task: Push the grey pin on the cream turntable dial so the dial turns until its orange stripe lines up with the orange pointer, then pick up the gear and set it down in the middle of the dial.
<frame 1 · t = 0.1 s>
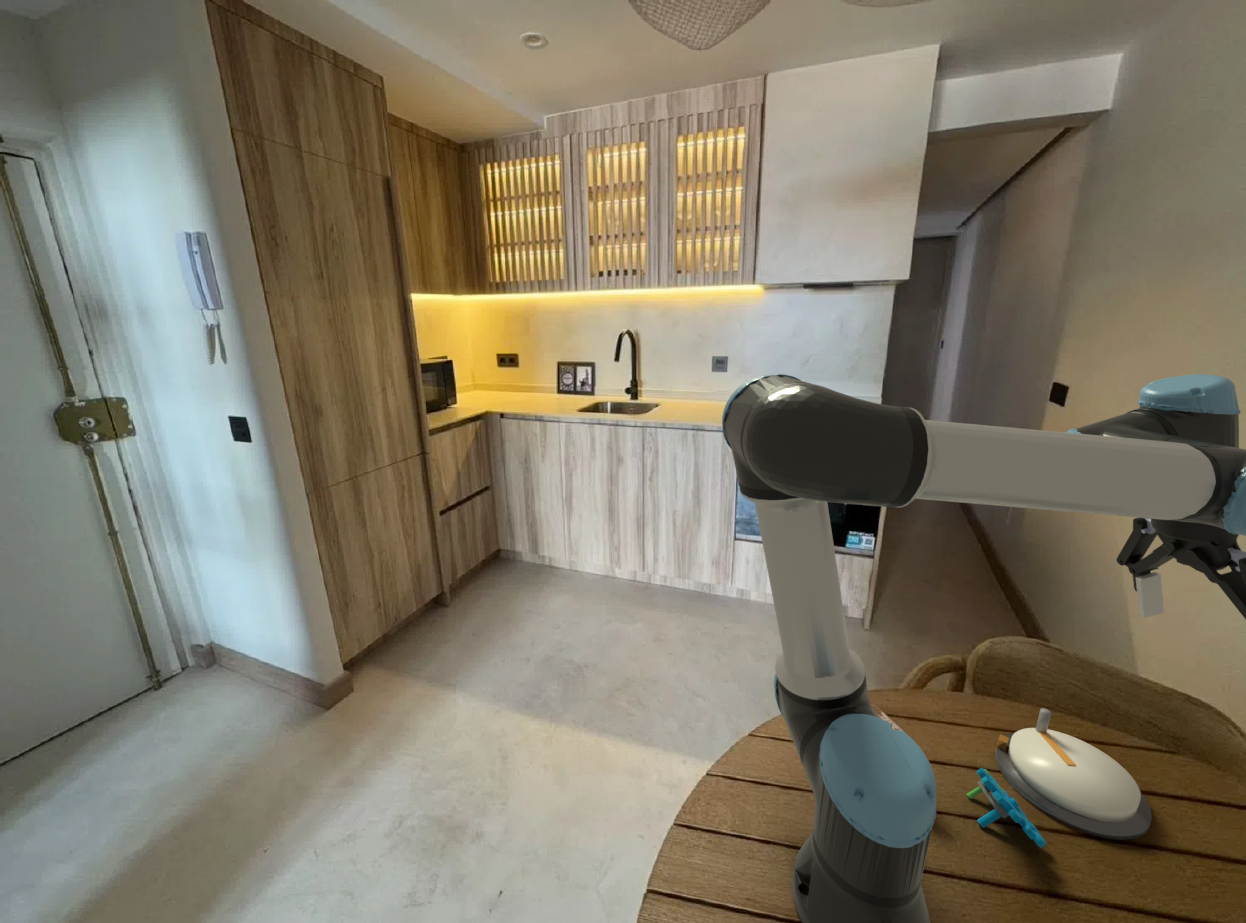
hand: (1203, 642, 66), 28 cm above the table, tool tilted 20°, fingers open, 13 cm apart
dial: (1073, 760, 76), point 4 cm above the table, hinge at 0.0°
dial base: (1066, 782, 77), on the table
gear: (1001, 824, 71), on the table
tin: (879, 764, 81), on the table
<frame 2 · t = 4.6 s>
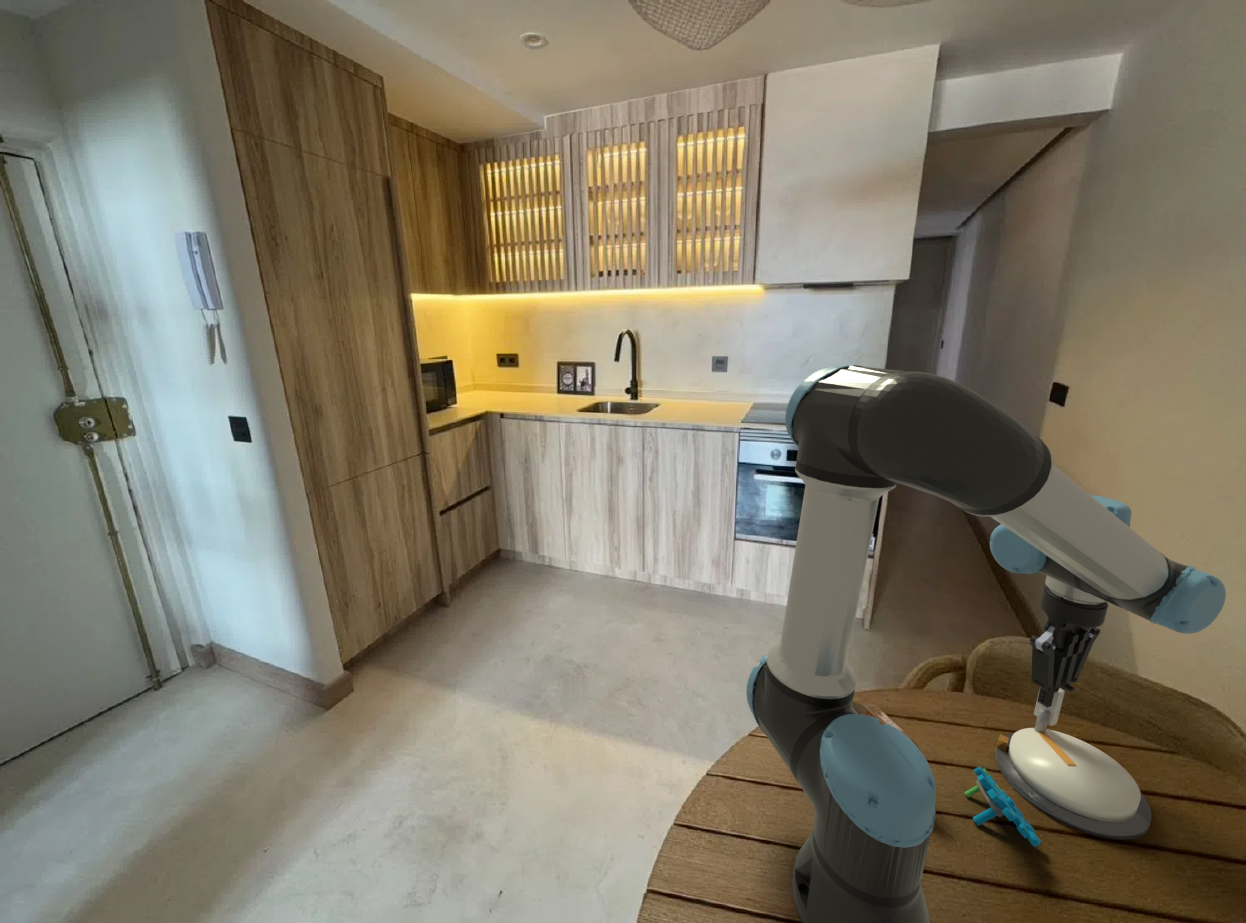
hand: (1044, 719, 83), 5 cm above the table, tool pointing down, fingers closed
dial: (1073, 760, 76), point 4 cm above the table, hinge at 1.6°, touching gripper
everything else where it was.
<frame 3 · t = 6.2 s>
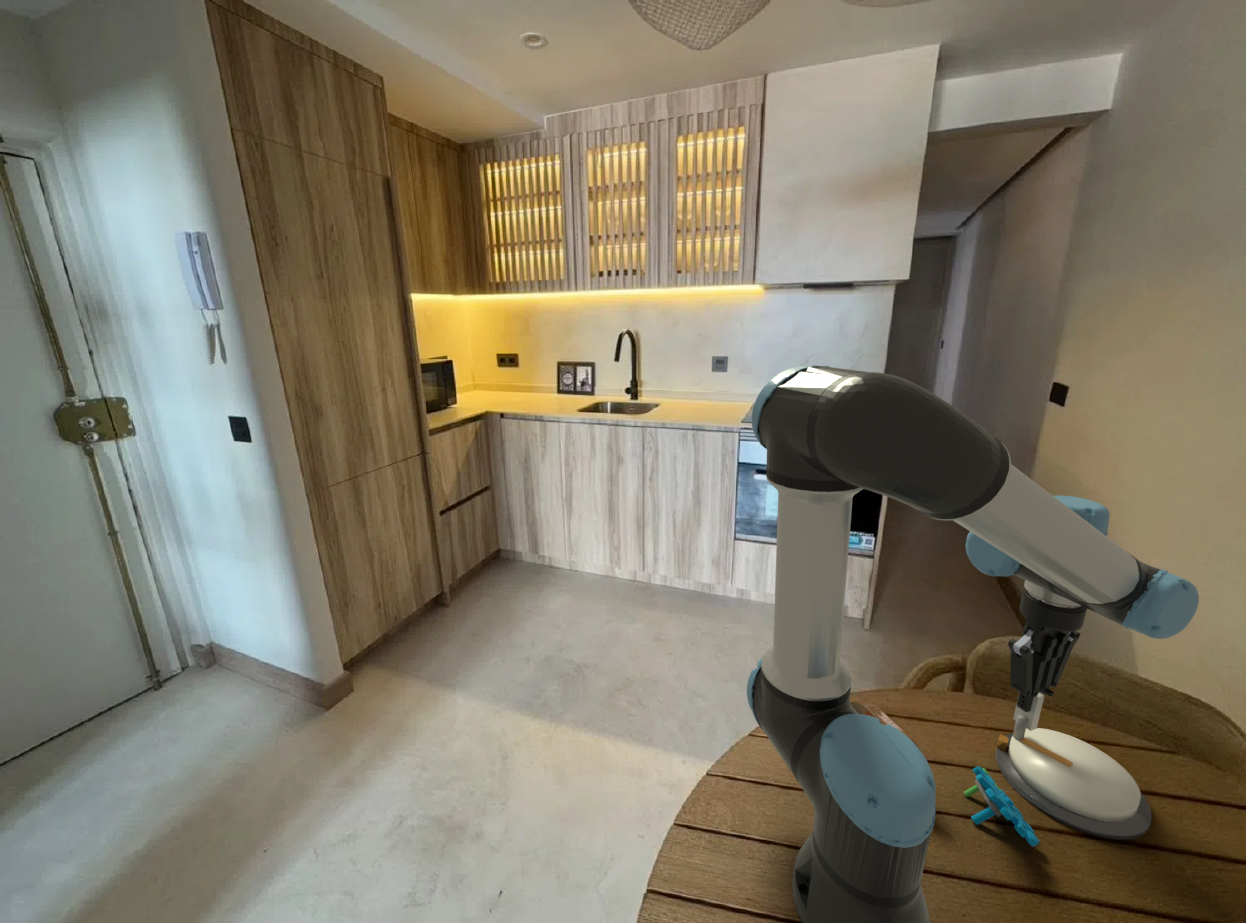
hand: (1024, 723, 82), 5 cm above the table, tool pointing down, fingers closed
dial: (1073, 760, 76), point 4 cm above the table, hinge at 42.9°, touching gripper
everything else where it was.
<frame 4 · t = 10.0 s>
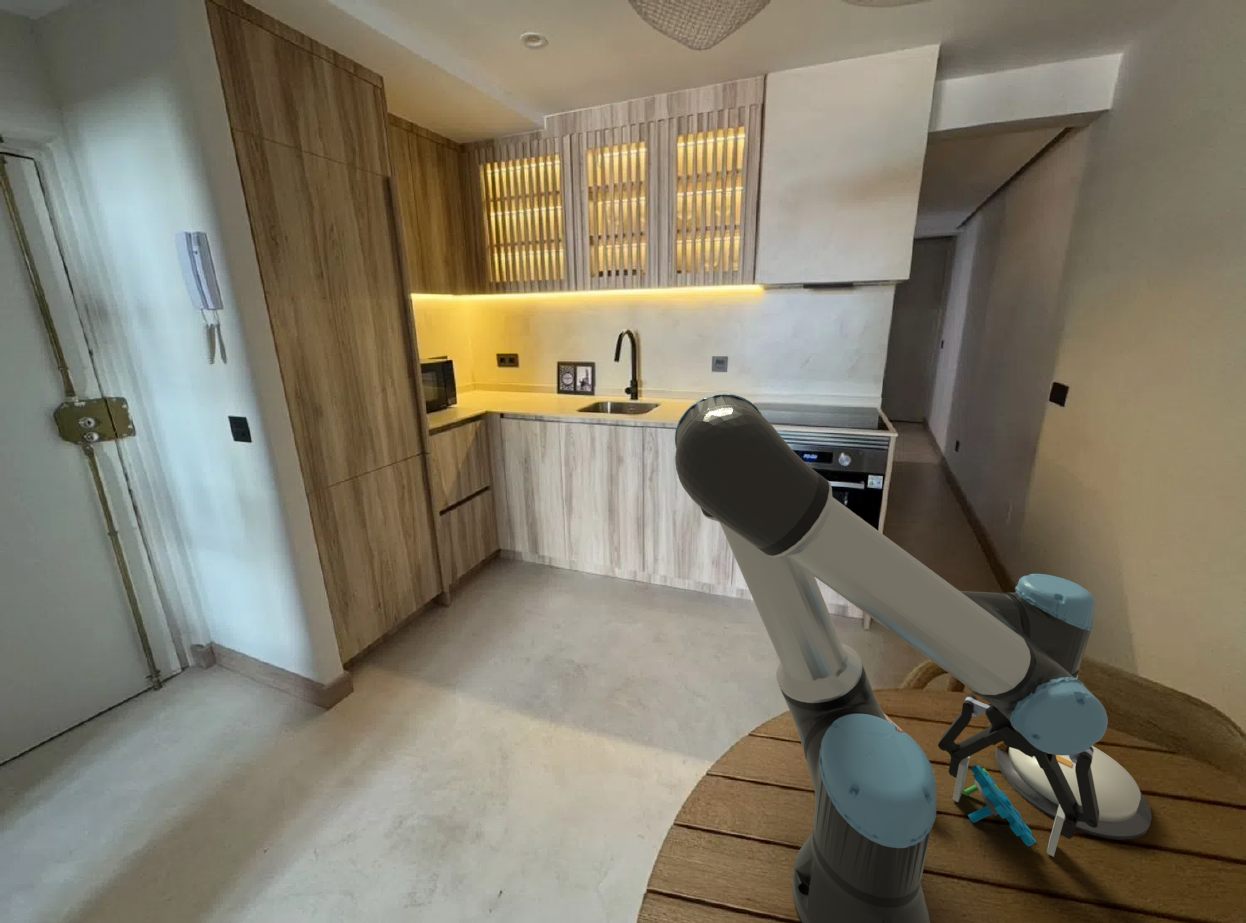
hand: (1002, 820, 71), 0 cm above the table, tool pointing down, fingers open, 10 cm apart
dial: (1073, 760, 76), point 4 cm above the table, hinge at 48.2°
gear: (994, 822, 71), on the table, touching gripper
everything else where it was.
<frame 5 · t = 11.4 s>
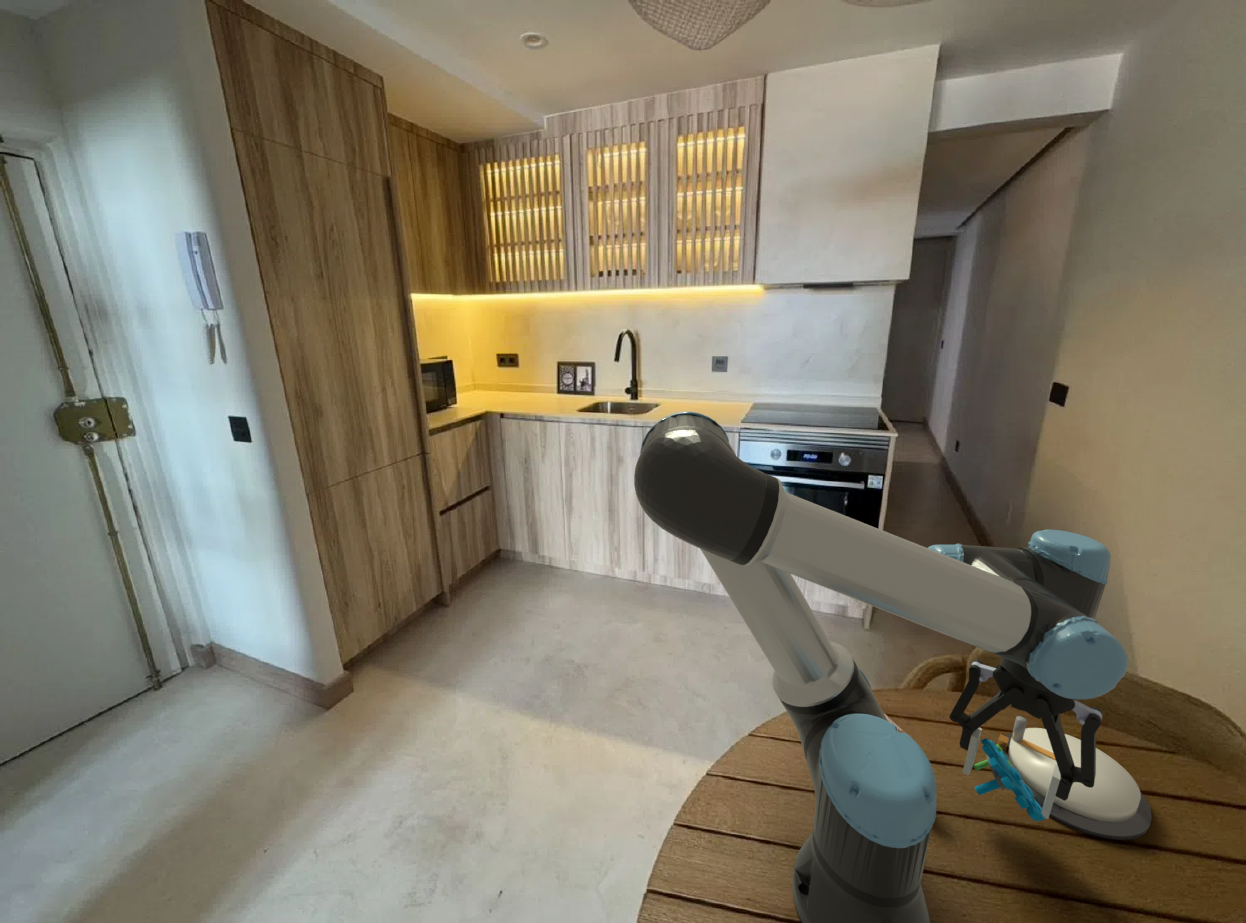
hand: (1005, 788, 70), 6 cm above the table, tool pointing down, fingers closed on gear, 8 cm apart
gear: (1003, 797, 69), point 5 cm above the table, touching gripper
everything else where it was.
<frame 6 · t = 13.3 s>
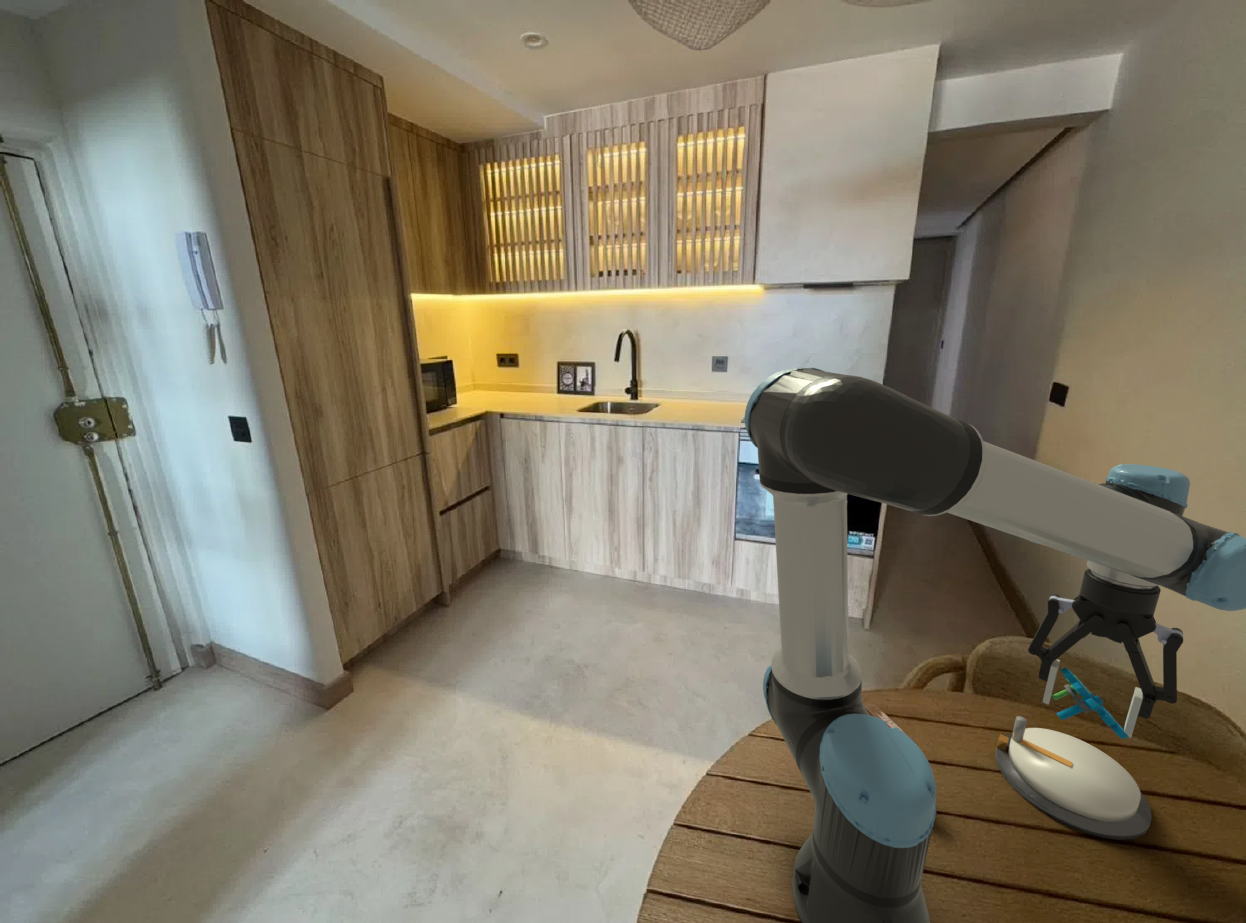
hand: (1085, 714, 74), 13 cm above the table, tool pointing down, fingers closed on gear, 8 cm apart
gear: (1084, 722, 73), point 12 cm above the table, touching gripper
everything else where it was.
when the fingers open (5 cm above the table, at t = 15.1 s): gear stays where it is, resting on dial.
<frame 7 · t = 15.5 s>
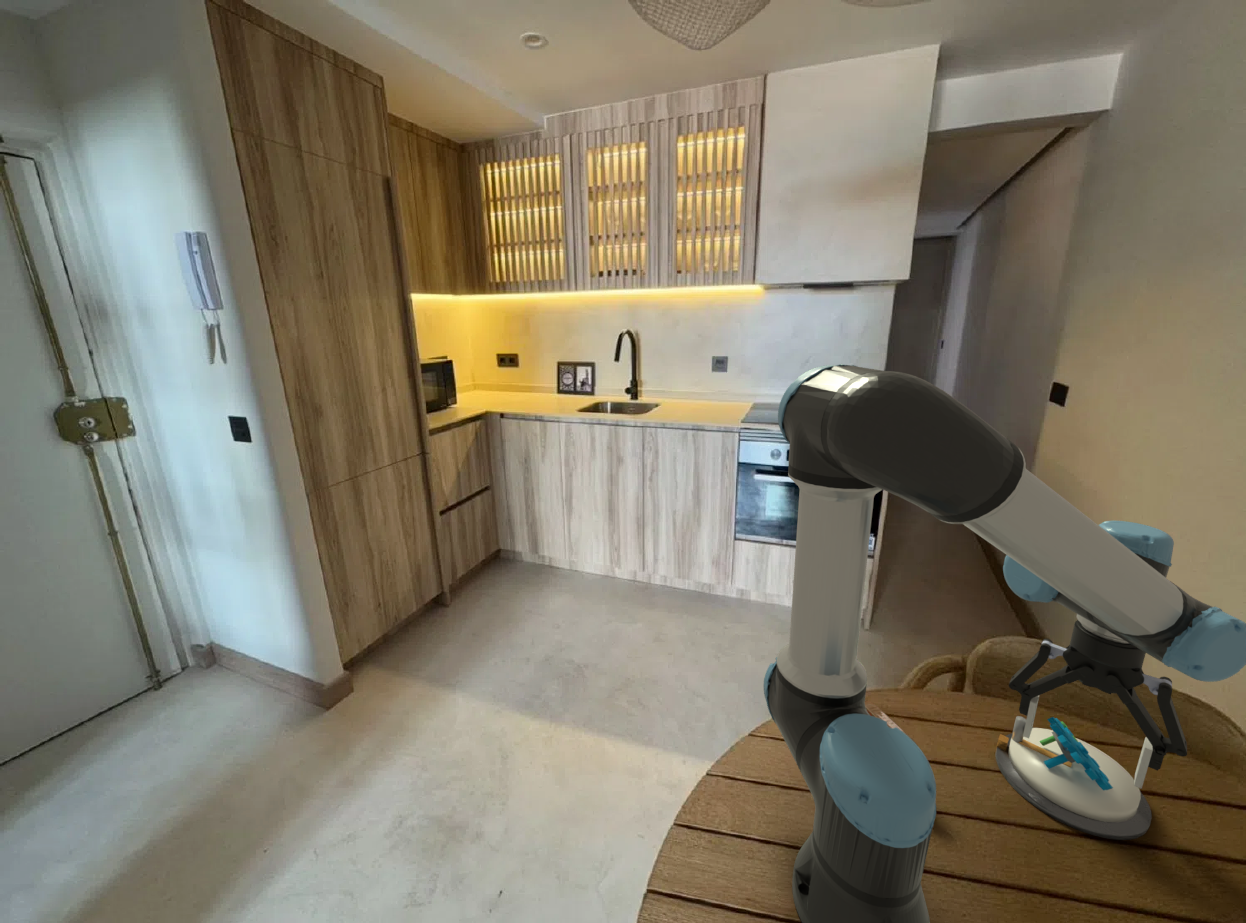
hand: (1079, 755, 75), 6 cm above the table, tool pointing down, fingers open, 12 cm apart
dial: (1073, 760, 76), point 4 cm above the table, hinge at 48.5°, touching gear, gripper
gear: (1071, 769, 76), point 3 cm above the table, touching dial
everything else where it was.
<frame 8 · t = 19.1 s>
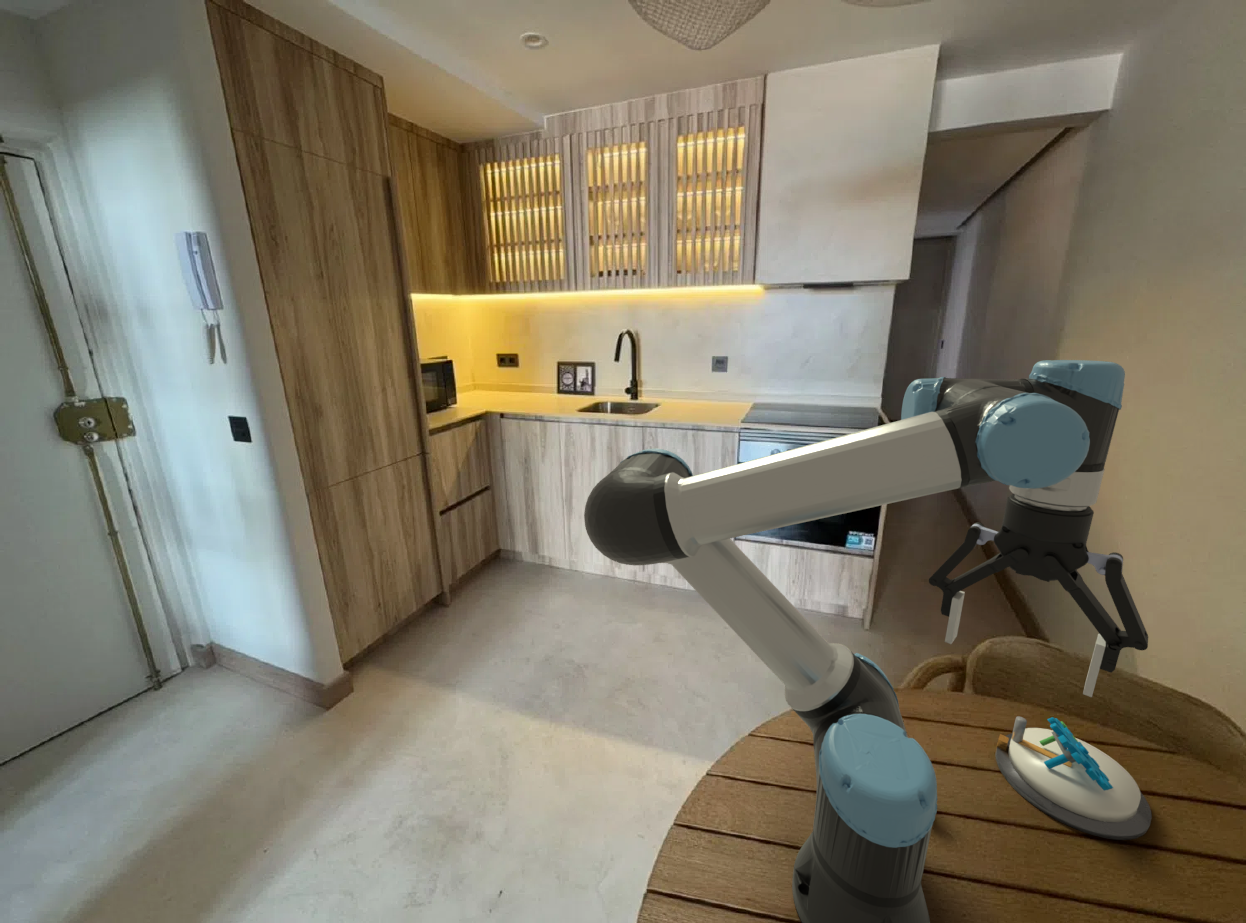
hand: (1014, 662, 61), 29 cm above the table, tool pointing down, fingers open, 13 cm apart
dial: (1073, 760, 76), point 4 cm above the table, hinge at 49.2°, touching gear
everything else where it was.
at the end: dial at +49° (first picture: +0°); gear 1.0 cm off-centre on the dial, point 3.3 cm above the dial's base; gear tilted 4° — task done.
